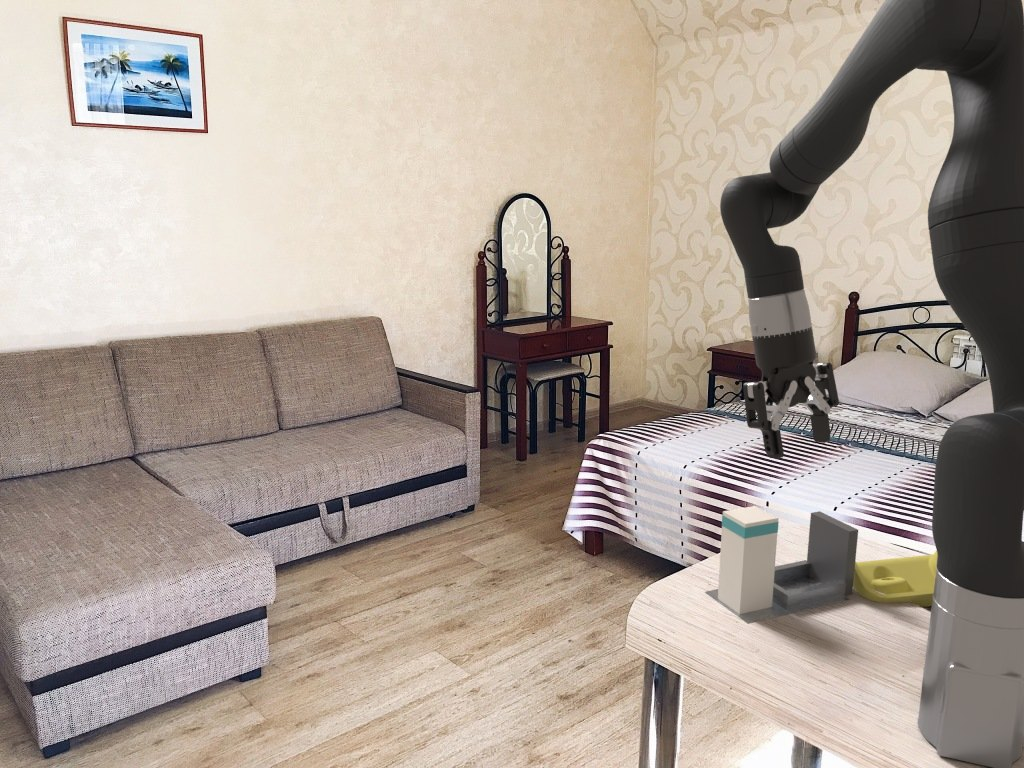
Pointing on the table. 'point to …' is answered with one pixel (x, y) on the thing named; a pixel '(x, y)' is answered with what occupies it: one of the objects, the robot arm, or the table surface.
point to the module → (747, 559)
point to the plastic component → (897, 579)
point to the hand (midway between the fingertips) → (799, 449)
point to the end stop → (832, 550)
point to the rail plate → (793, 593)
